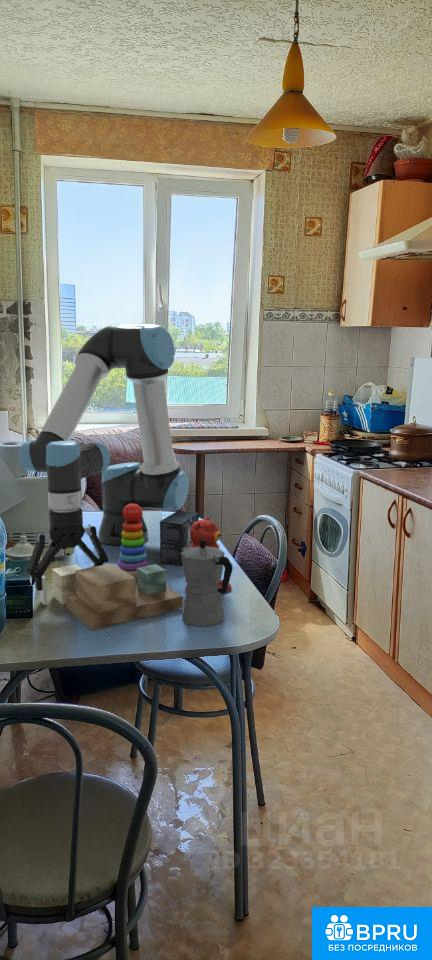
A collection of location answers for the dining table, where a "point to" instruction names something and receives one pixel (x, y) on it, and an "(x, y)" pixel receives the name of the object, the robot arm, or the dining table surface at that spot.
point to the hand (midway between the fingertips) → (70, 597)
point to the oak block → (64, 582)
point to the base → (128, 611)
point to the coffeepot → (204, 584)
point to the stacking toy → (132, 541)
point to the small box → (175, 536)
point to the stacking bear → (207, 532)
